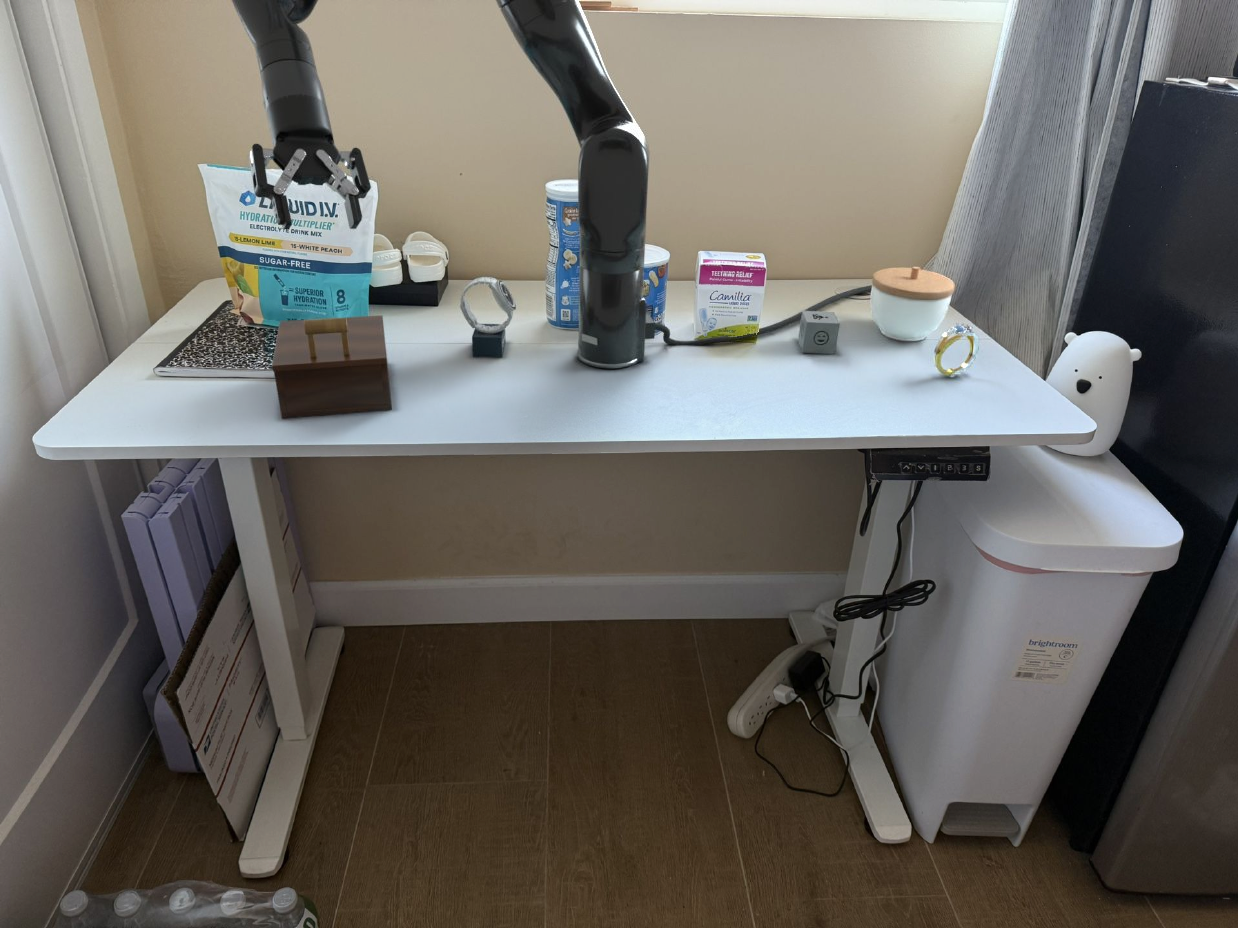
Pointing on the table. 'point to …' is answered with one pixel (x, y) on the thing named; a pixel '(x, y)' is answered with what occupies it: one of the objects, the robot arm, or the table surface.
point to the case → (333, 390)
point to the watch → (489, 336)
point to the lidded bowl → (909, 302)
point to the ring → (944, 345)
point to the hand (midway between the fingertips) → (322, 227)
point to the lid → (329, 343)
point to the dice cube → (818, 332)
